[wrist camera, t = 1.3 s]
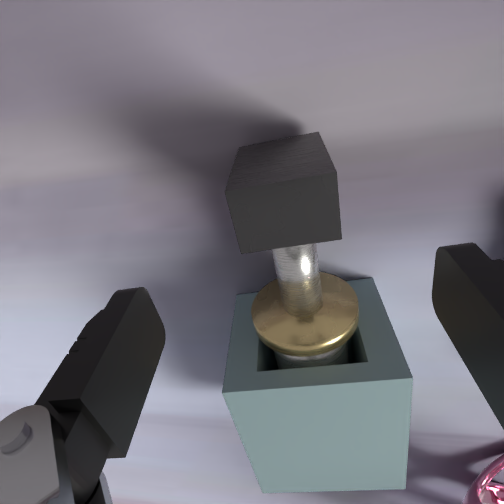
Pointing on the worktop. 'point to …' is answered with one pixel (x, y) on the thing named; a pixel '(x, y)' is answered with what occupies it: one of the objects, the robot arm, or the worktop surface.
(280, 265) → the plunger
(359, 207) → the worktop surface
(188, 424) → the worktop surface
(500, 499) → the spiral basket
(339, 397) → the housing
